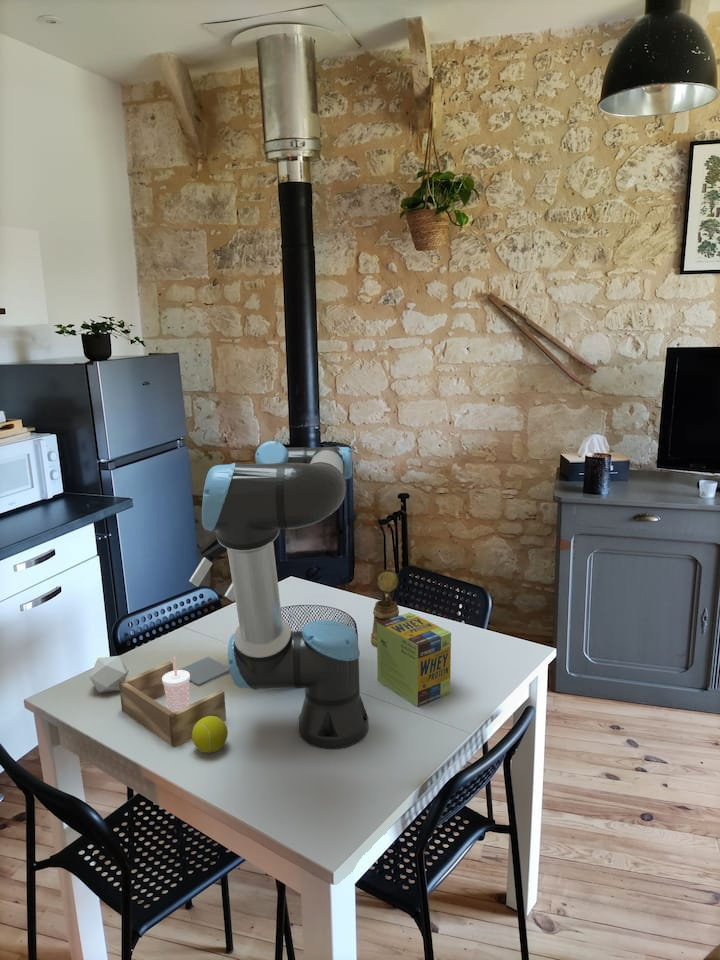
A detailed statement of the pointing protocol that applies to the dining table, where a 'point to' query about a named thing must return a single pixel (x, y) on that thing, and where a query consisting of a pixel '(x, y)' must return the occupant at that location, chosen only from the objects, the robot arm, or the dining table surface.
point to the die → (108, 674)
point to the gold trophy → (385, 601)
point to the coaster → (205, 671)
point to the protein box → (414, 658)
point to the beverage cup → (176, 688)
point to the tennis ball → (209, 734)
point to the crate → (157, 717)
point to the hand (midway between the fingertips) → (210, 591)
